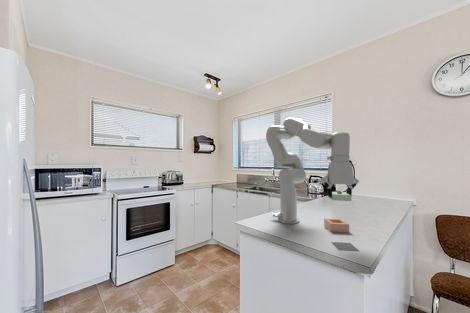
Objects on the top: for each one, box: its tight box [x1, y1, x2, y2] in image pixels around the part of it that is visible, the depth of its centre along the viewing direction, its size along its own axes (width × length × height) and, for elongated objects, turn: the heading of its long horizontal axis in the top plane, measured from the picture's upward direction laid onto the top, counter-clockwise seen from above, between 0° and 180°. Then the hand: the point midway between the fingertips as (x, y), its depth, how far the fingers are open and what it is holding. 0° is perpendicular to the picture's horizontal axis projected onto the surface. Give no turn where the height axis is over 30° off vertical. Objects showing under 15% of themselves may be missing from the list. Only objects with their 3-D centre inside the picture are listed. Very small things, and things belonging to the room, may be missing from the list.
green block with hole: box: [327, 191, 353, 202], centre depth 93 cm, size 8×8×3 cm
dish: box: [323, 218, 350, 234], centre depth 104 cm, size 9×9×4 cm
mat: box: [330, 241, 360, 252], centre depth 83 cm, size 8×8×1 cm
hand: (339, 197), depth 93 cm, fingers closed on green block with hole, 7 cm apart
